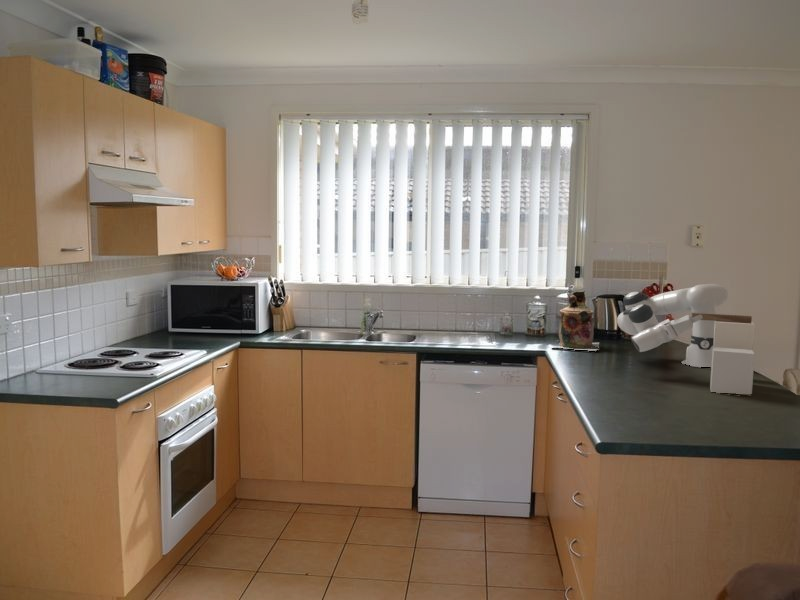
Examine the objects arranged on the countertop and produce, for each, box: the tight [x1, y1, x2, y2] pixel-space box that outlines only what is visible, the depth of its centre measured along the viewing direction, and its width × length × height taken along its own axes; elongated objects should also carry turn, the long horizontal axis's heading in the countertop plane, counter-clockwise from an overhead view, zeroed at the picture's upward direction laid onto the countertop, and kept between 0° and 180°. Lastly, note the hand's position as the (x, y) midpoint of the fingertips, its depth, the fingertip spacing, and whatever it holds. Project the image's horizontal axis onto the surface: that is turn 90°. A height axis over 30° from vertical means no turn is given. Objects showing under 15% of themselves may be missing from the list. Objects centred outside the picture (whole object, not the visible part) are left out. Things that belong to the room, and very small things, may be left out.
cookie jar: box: [553, 289, 600, 352], centre depth 353 cm, size 25×25×32 cm
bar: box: [691, 312, 753, 323], centre depth 269 cm, size 3×22×2 cm, turn 67°
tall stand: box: [713, 321, 756, 352], centre depth 268 cm, size 10×14×26 cm
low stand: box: [709, 347, 756, 394], centre depth 254 cm, size 10×14×16 cm
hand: (702, 315), depth 272 cm, fingers closed on bar, 3 cm apart
